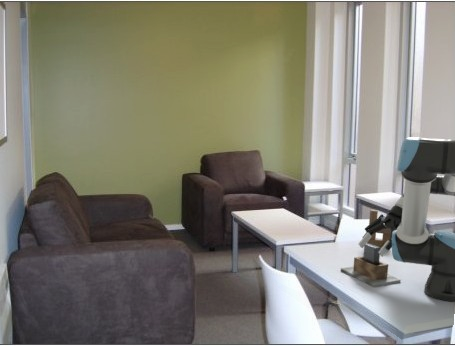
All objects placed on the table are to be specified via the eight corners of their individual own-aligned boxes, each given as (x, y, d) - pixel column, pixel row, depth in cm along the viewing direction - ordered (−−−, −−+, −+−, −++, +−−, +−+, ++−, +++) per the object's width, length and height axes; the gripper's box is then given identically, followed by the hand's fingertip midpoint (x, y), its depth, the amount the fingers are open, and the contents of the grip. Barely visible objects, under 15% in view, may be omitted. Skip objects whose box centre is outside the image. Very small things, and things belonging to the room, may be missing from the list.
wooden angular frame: (389, 248, 255) (393, 212, 252) (367, 246, 257) (370, 210, 255) (389, 246, 259) (392, 210, 256) (366, 244, 261) (369, 209, 258)
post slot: (400, 282, 209) (401, 266, 208) (373, 286, 203) (374, 270, 202) (366, 266, 227) (367, 252, 226) (340, 270, 220) (341, 255, 219)
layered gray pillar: (378, 275, 213) (380, 247, 211) (372, 276, 211) (374, 248, 209) (368, 271, 218) (370, 243, 216) (362, 272, 216) (364, 244, 215)
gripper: (427, 223, 209) (395, 264, 205) (385, 209, 230) (355, 247, 226) (419, 211, 206) (386, 253, 202) (377, 198, 227) (346, 236, 222)
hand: (370, 250), depth 214 cm, fingers open, 11 cm apart
